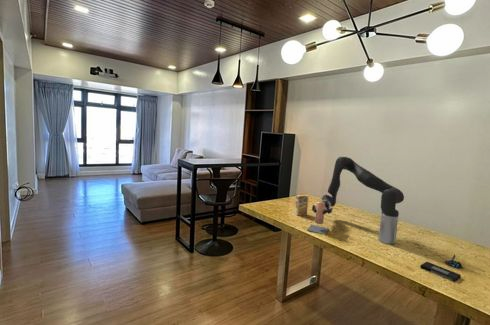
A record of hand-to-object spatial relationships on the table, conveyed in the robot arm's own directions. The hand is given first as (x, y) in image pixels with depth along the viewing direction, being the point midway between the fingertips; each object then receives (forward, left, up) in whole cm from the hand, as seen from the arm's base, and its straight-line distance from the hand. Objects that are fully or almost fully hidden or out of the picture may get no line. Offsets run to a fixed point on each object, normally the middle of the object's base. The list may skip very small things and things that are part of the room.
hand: (319, 212), depth 175 cm
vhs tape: (-64, +20, -14) cm, 68 cm away
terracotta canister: (0, -3, -8) cm, 8 cm away
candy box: (+19, -28, -13) cm, 37 cm away
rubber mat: (0, -2, -13) cm, 13 cm away
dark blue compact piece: (-72, +6, -14) cm, 73 cm away
